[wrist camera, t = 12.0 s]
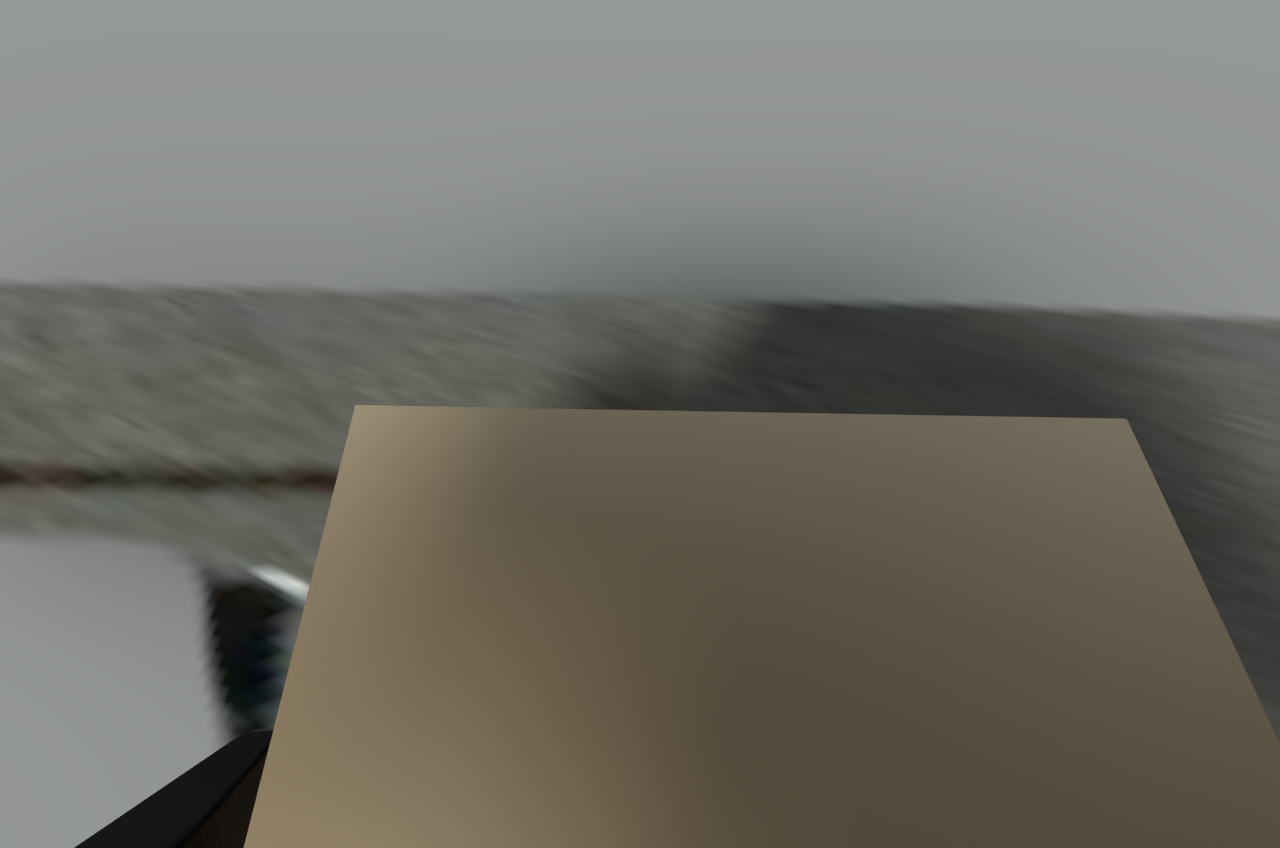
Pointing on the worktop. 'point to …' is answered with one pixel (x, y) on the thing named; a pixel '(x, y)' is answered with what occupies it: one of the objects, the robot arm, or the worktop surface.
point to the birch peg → (758, 641)
